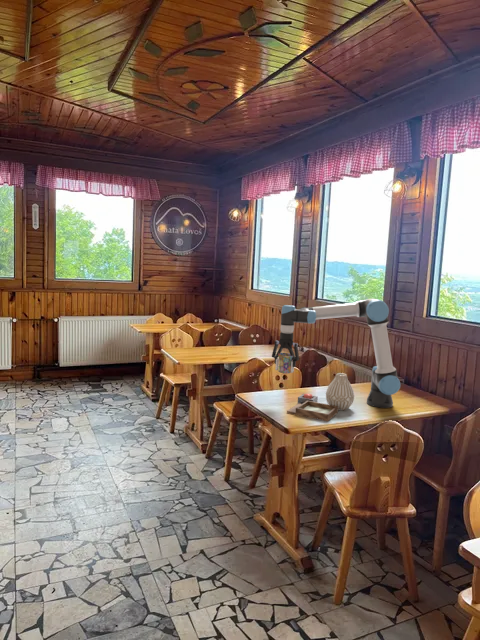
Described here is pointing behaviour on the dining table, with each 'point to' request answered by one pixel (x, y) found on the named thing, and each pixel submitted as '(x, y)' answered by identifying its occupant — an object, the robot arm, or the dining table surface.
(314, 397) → the button box
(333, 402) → the vase
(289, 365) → the mug
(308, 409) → the wooden tray
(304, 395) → the button
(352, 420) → the dining table surface
